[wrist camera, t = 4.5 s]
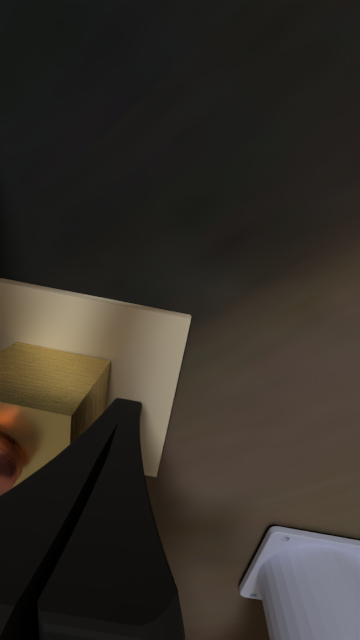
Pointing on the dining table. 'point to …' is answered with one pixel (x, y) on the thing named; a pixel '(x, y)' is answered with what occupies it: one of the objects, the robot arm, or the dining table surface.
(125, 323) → the board
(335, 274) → the dining table surface
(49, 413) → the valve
